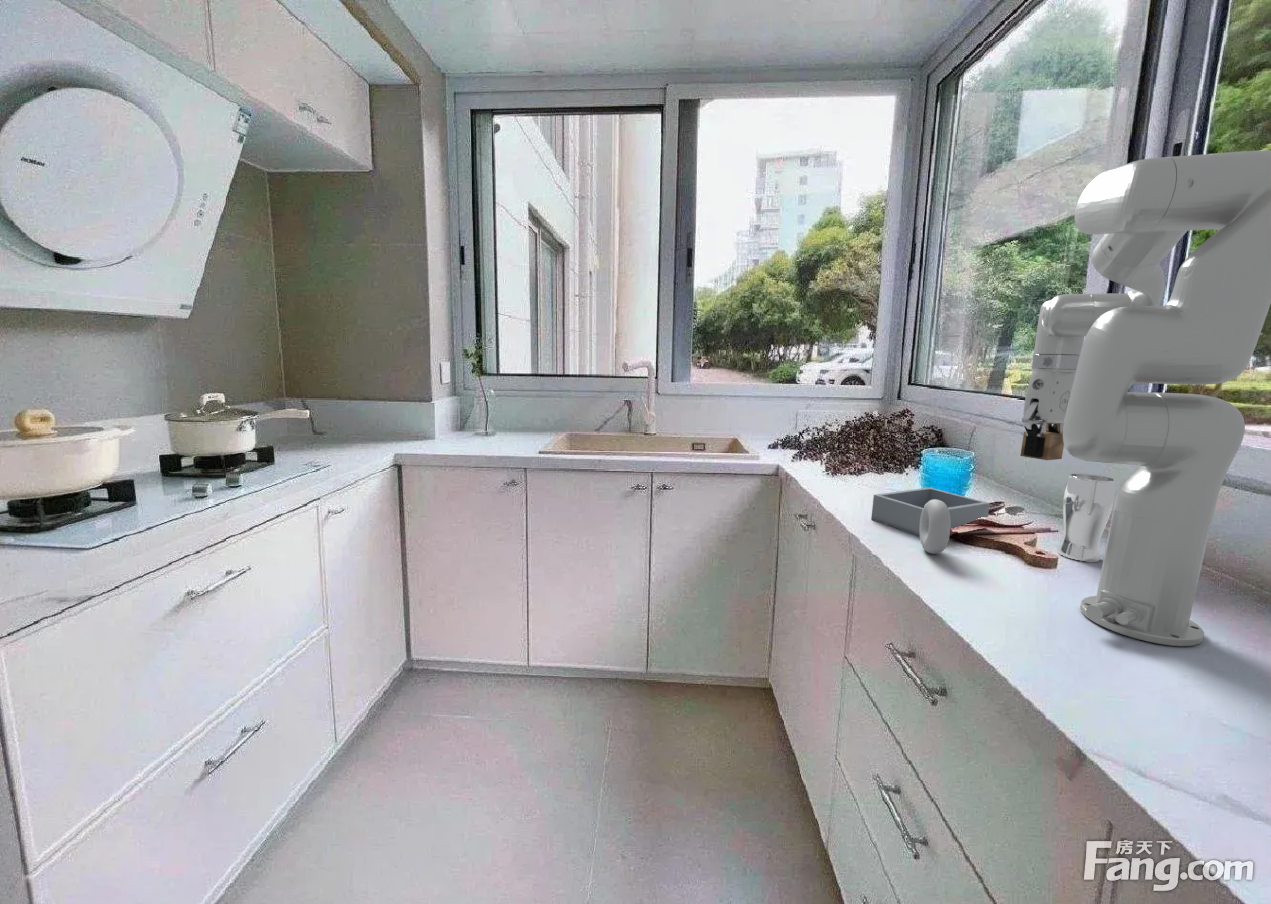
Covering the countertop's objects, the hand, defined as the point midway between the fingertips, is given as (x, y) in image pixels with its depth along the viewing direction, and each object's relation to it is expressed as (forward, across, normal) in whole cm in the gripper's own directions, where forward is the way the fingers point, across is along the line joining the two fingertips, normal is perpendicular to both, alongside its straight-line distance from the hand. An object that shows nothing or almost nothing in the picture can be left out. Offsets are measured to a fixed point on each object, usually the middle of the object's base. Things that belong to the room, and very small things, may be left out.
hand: (1041, 454), depth 111 cm
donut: (+17, -30, 0) cm, 34 cm away
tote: (+17, -15, +12) cm, 25 cm away
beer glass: (+17, -6, -12) cm, 21 cm away
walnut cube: (+1, 0, 0) cm, 1 cm away
